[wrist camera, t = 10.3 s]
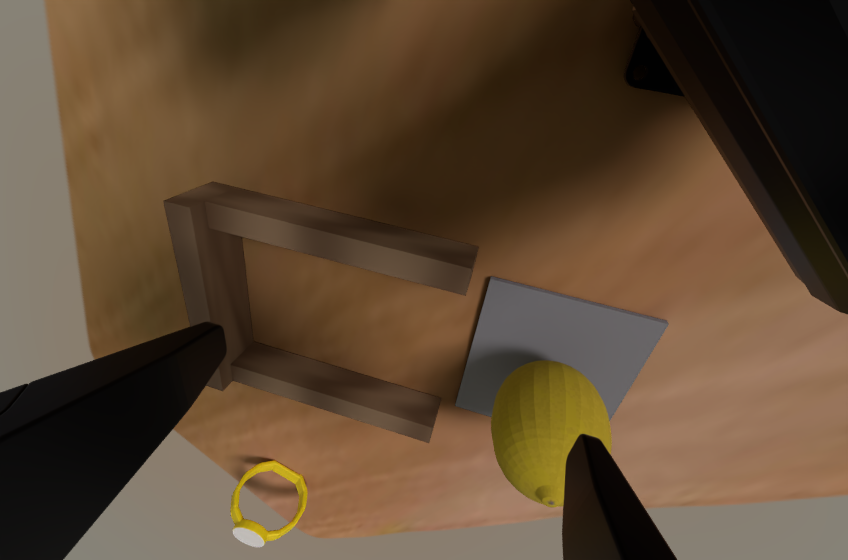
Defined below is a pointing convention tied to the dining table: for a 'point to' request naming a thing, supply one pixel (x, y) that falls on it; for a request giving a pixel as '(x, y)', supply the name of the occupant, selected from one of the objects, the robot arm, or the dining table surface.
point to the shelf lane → (319, 236)
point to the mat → (554, 342)
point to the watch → (253, 531)
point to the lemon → (544, 426)
